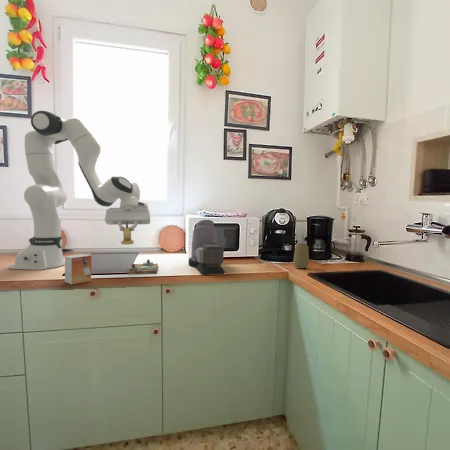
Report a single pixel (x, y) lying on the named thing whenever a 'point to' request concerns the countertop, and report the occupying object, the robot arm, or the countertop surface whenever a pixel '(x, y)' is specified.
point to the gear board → (143, 268)
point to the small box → (77, 268)
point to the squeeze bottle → (301, 253)
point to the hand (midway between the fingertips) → (127, 230)
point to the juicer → (206, 249)
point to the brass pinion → (127, 235)
